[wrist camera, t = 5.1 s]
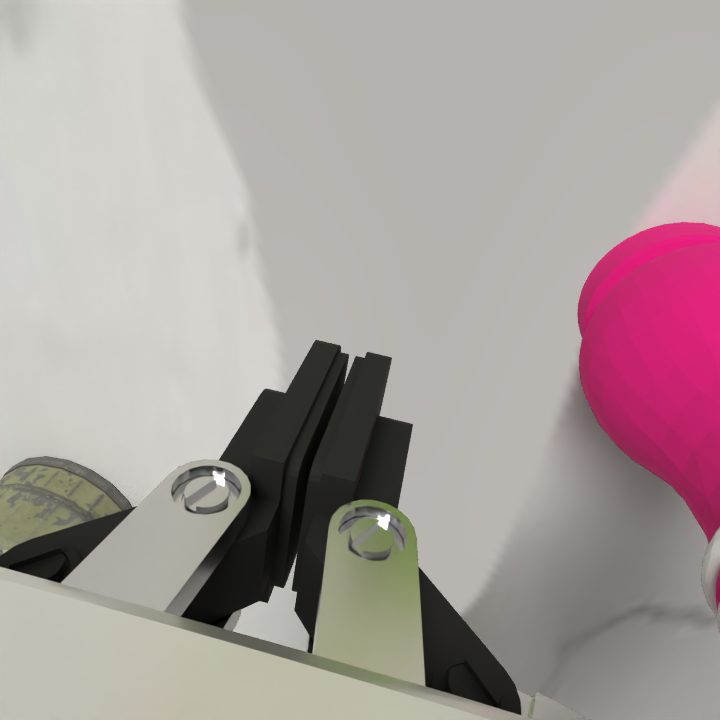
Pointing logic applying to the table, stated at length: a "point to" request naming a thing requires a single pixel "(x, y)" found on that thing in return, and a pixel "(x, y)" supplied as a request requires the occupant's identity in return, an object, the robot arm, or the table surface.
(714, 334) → the pepper mill
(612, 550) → the table surface
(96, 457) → the table surface
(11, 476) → the thermos
